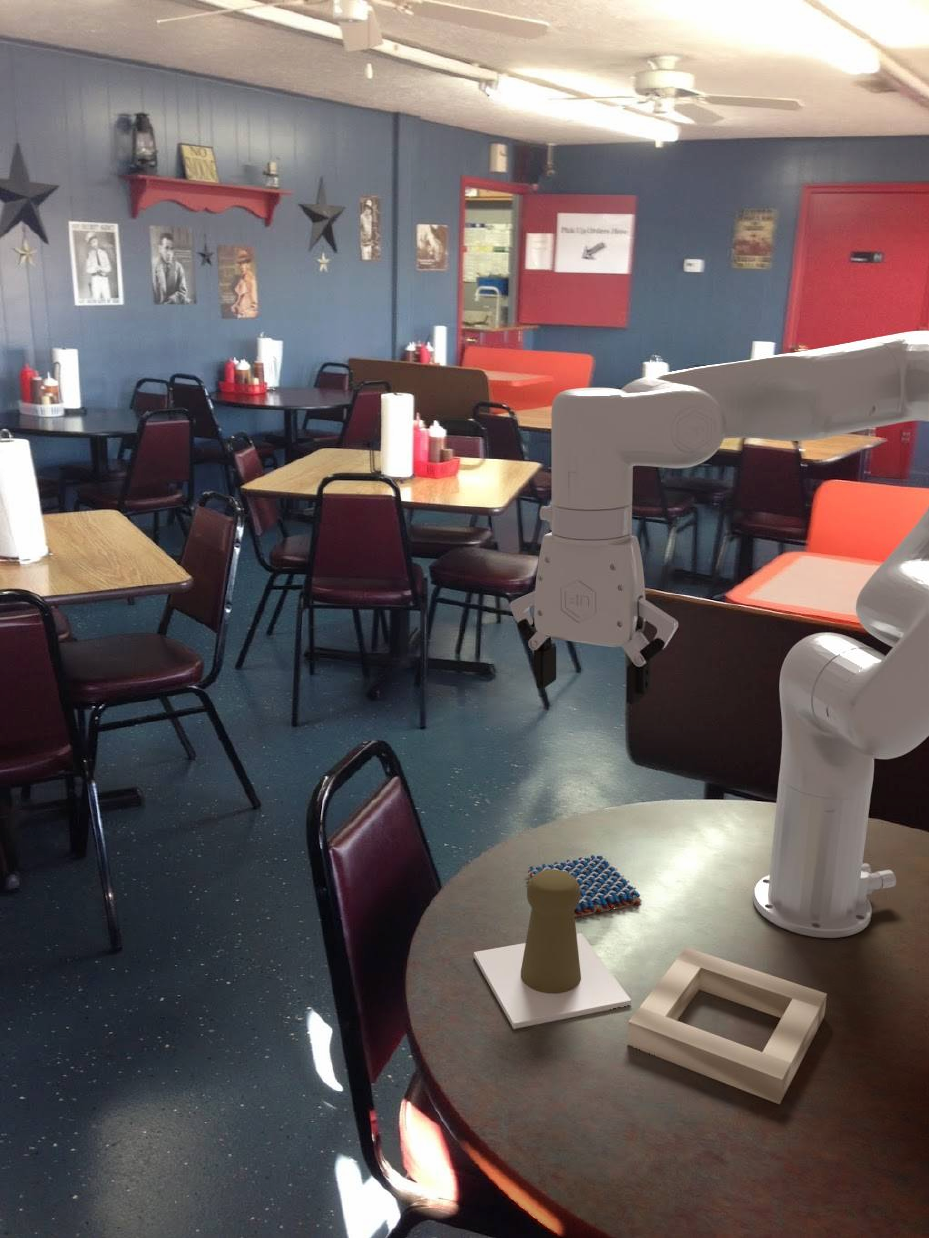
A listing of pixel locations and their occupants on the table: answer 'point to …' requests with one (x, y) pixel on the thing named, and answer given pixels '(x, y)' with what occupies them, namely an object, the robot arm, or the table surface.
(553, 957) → the cork
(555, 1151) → the table surface
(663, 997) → the wooden holder
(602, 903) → the woven mat
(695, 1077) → the table surface
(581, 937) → the ceramic tile
